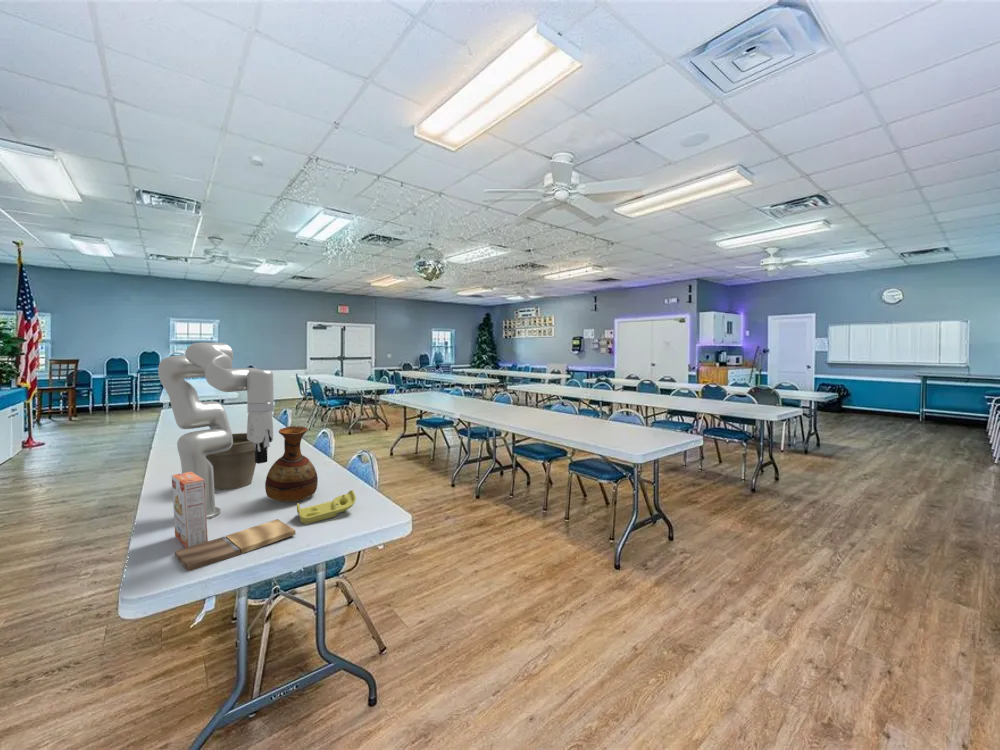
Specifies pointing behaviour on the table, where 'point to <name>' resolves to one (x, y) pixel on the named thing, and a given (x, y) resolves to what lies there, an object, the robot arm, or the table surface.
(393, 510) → the table surface
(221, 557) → the walnut board
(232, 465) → the plant pot
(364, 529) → the table surface
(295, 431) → the ceramic pitcher
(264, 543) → the oak plank
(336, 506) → the plastic component
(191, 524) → the cracker box
